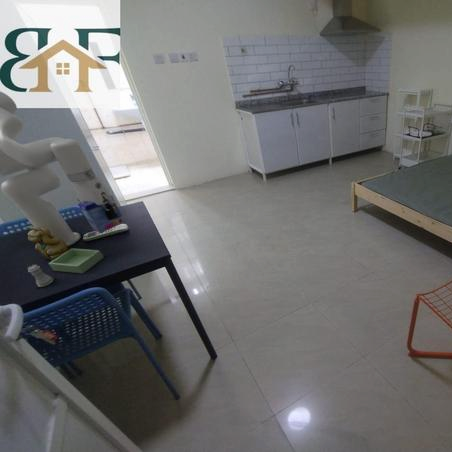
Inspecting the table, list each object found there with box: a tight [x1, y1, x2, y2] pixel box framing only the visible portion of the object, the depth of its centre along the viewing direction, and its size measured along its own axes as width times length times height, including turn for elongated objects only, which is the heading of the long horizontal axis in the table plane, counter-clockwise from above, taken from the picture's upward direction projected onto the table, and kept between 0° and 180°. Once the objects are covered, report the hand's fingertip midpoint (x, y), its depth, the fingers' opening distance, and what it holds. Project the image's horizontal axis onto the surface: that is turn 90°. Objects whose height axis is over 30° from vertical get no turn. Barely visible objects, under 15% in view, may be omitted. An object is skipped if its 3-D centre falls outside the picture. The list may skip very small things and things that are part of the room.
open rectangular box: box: [48, 247, 105, 274], centre depth 110 cm, size 14×10×4 cm
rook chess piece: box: [27, 264, 54, 288], centre depth 100 cm, size 4×4×8 cm
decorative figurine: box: [25, 225, 69, 261], centre depth 113 cm, size 10×8×15 cm
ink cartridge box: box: [77, 195, 126, 234], centre depth 108 cm, size 10×6×14 cm, turn 154°
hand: (105, 217), depth 110 cm, fingers closed on ink cartridge box, 6 cm apart
